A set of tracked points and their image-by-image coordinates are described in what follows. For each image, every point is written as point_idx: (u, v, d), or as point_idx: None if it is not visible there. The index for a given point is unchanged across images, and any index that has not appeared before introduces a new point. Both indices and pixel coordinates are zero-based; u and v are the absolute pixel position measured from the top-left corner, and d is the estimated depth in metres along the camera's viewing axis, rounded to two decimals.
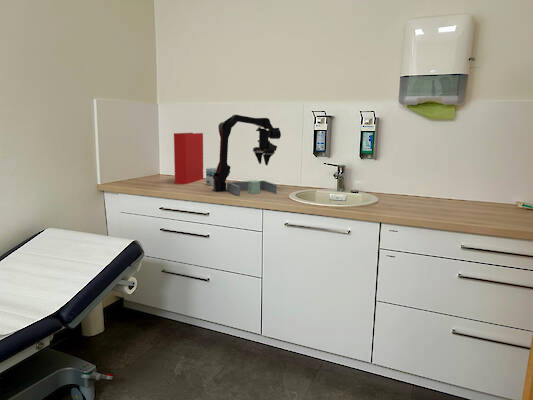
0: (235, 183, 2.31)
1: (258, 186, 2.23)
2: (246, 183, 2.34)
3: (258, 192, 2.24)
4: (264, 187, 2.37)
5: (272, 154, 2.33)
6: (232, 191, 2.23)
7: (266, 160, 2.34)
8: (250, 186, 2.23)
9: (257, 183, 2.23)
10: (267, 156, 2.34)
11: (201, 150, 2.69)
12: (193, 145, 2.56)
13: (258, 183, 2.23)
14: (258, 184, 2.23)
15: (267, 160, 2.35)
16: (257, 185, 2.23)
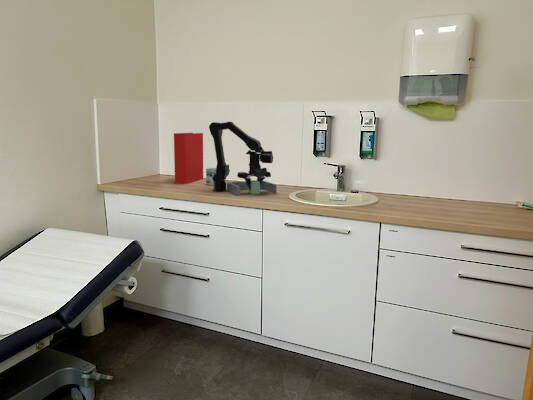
0: (235, 183, 2.31)
1: (258, 186, 2.23)
2: (246, 183, 2.34)
3: (258, 192, 2.24)
4: (264, 187, 2.37)
5: (245, 178, 2.19)
6: (232, 191, 2.23)
7: (247, 184, 2.23)
8: None
9: (257, 183, 2.22)
10: (247, 180, 2.22)
11: (201, 150, 2.69)
12: (193, 145, 2.56)
13: (258, 183, 2.23)
14: (258, 184, 2.23)
15: (248, 184, 2.23)
16: (257, 185, 2.23)
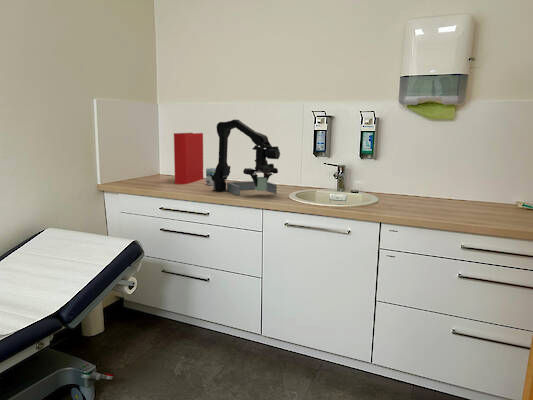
0: (235, 183, 2.31)
1: (265, 183, 2.15)
2: (246, 183, 2.34)
3: (265, 189, 2.16)
4: None
5: (252, 175, 2.11)
6: (232, 191, 2.23)
7: (254, 181, 2.15)
8: None
9: (264, 179, 2.15)
10: (254, 176, 2.14)
11: (201, 150, 2.69)
12: (193, 145, 2.56)
13: (265, 179, 2.15)
14: (265, 180, 2.15)
15: (254, 181, 2.15)
16: (263, 181, 2.15)
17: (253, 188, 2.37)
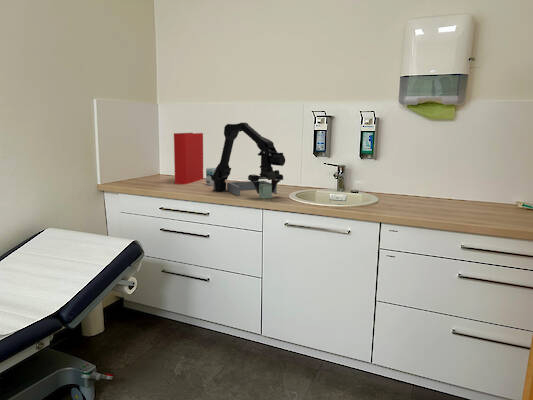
0: (235, 183, 2.31)
1: (270, 190, 2.10)
2: (246, 183, 2.34)
3: (270, 197, 2.11)
4: None
5: (254, 181, 2.05)
6: (232, 191, 2.23)
7: (255, 187, 2.09)
8: (261, 190, 2.10)
9: (269, 187, 2.09)
10: (256, 183, 2.08)
11: (201, 150, 2.69)
12: (193, 145, 2.56)
13: (270, 187, 2.10)
14: (270, 188, 2.10)
15: (256, 188, 2.09)
16: (268, 189, 2.09)
17: (253, 188, 2.37)
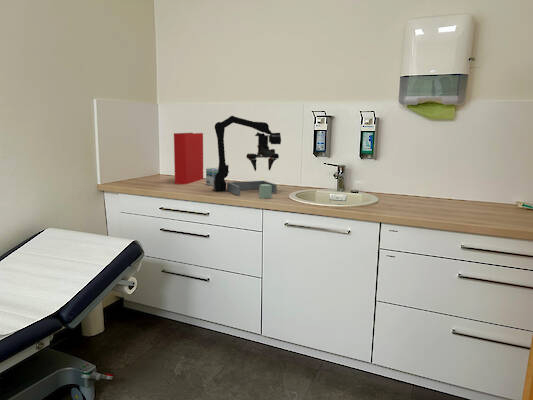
0: (235, 183, 2.31)
1: (270, 190, 2.10)
2: (246, 183, 2.34)
3: (270, 197, 2.11)
4: None
5: (251, 159, 2.25)
6: (232, 191, 2.23)
7: (253, 165, 2.29)
8: (261, 190, 2.10)
9: (269, 187, 2.09)
10: None
11: (201, 150, 2.69)
12: (193, 145, 2.56)
13: (270, 187, 2.10)
14: (270, 188, 2.10)
15: (253, 165, 2.29)
16: (268, 189, 2.09)
17: (253, 188, 2.37)
